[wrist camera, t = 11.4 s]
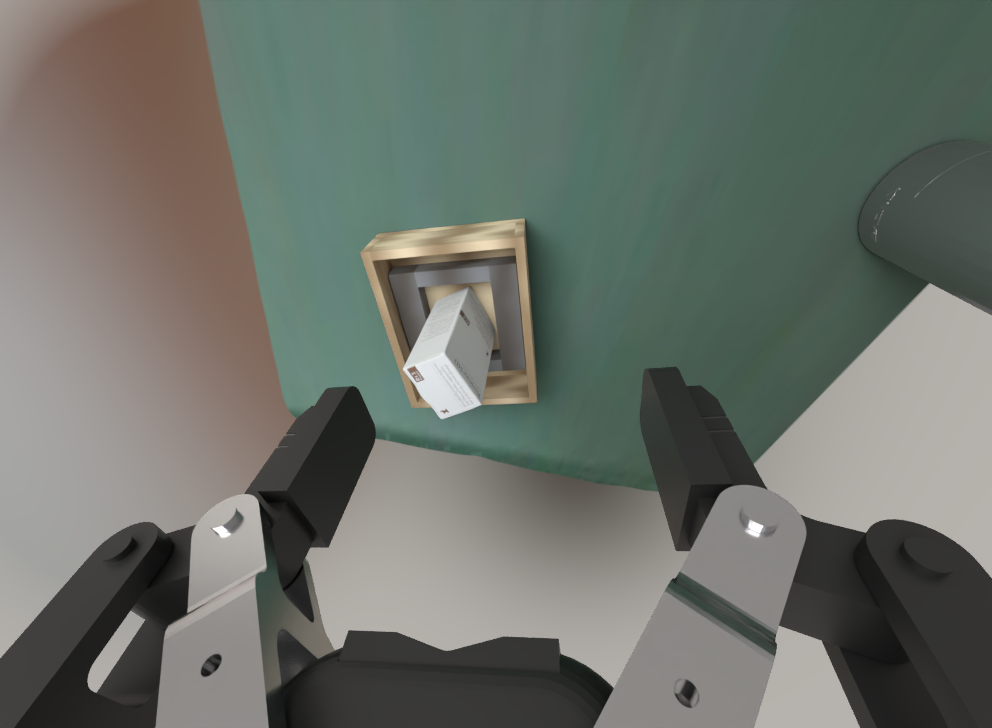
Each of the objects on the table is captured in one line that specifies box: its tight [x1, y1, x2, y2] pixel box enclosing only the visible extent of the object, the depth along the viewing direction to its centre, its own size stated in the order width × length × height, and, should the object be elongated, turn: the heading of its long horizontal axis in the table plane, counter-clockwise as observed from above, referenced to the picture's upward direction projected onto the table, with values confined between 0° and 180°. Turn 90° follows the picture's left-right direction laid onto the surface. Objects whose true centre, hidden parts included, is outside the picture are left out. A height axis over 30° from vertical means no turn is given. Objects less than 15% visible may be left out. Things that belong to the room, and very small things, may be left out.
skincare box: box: [403, 286, 495, 419], centre depth 36 cm, size 6×4×12 cm
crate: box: [361, 219, 537, 408], centre depth 40 cm, size 14×18×5 cm
